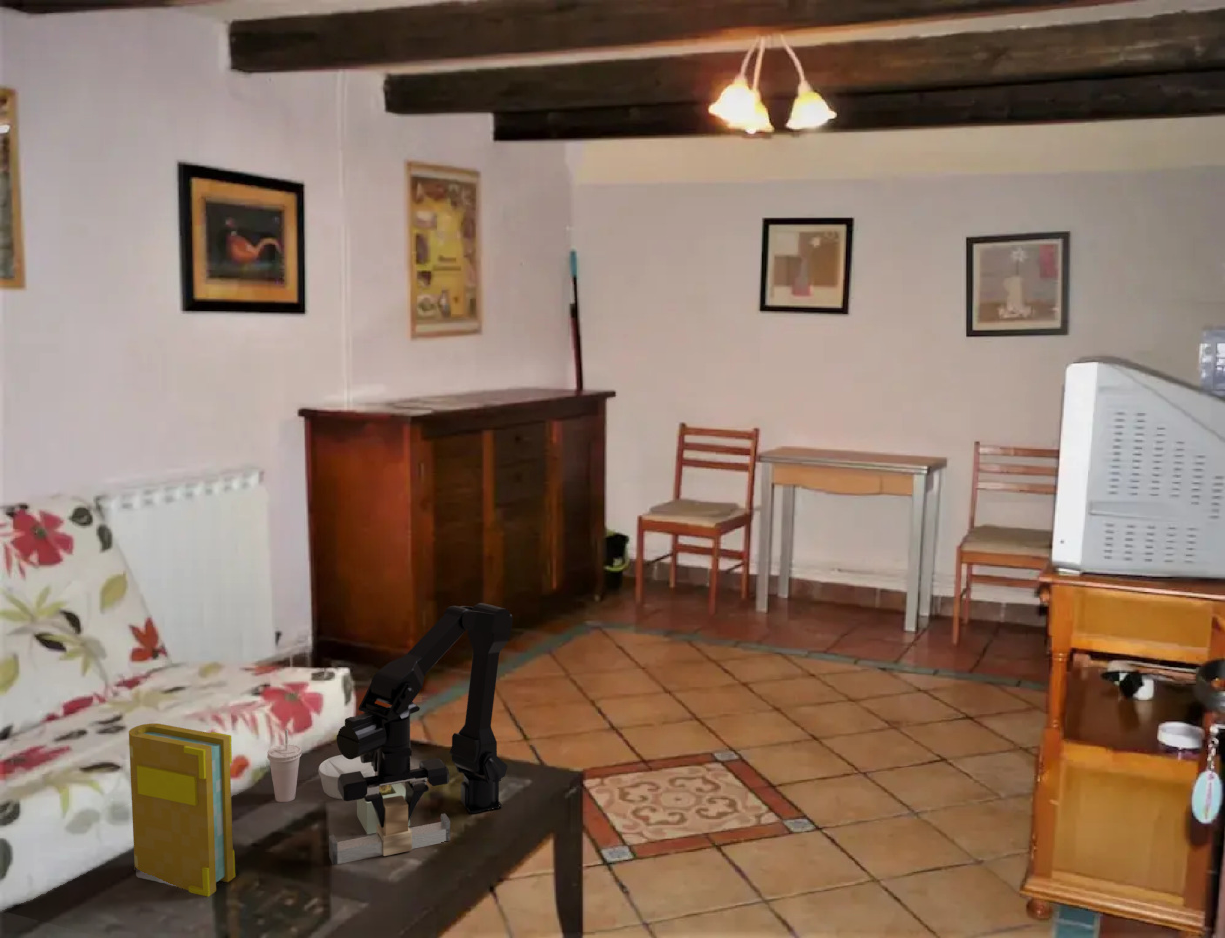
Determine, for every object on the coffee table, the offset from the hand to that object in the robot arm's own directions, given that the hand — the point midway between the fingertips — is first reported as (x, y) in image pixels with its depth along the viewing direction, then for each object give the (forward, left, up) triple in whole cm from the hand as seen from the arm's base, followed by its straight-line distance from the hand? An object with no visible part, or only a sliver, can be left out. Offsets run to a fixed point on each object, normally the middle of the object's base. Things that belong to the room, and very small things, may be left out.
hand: (394, 824), depth 190 cm
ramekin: (+2, -27, -5) cm, 28 cm away
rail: (+1, 0, -4) cm, 5 cm away
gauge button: (-1, -11, 0) cm, 11 cm away
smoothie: (+14, -28, -5) cm, 32 cm away
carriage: (0, 0, -4) cm, 4 cm away
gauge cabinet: (-1, -11, -4) cm, 12 cm away
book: (+35, -5, -5) cm, 36 cm away
